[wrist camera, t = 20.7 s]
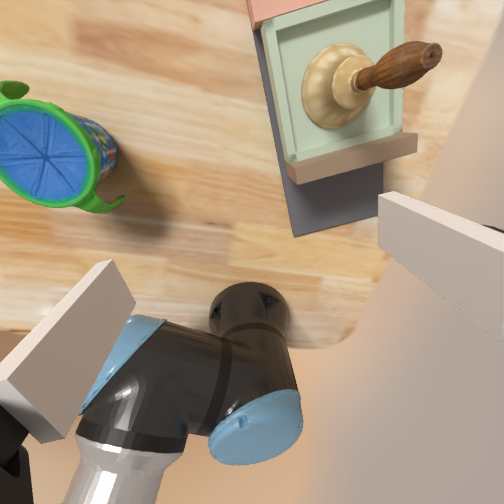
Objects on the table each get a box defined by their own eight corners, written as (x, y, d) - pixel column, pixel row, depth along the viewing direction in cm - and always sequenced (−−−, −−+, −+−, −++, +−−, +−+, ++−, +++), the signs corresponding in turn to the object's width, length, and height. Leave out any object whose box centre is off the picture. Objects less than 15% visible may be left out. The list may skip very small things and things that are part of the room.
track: (382, 212, 42) (393, 219, 39) (293, 235, 43) (297, 244, 40) (377, -44, 28) (395, -63, 25) (246, -2, 29) (247, -16, 26)
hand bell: (285, 86, 29) (336, 55, 15) (347, 22, 27) (476, -86, 13) (327, 144, 32) (402, 164, 18) (385, 91, 30) (522, 67, 16)
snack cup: (11, 108, 32) (-74, 104, 23) (78, 65, 31) (15, 43, 22) (98, 213, 39) (57, 242, 30) (156, 182, 38) (132, 203, 29)
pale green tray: (379, 145, 37) (416, 152, 29) (284, 171, 38) (297, 184, 30) (376, -1, 29) (425, -41, 22) (258, 36, 30) (267, 9, 23)
